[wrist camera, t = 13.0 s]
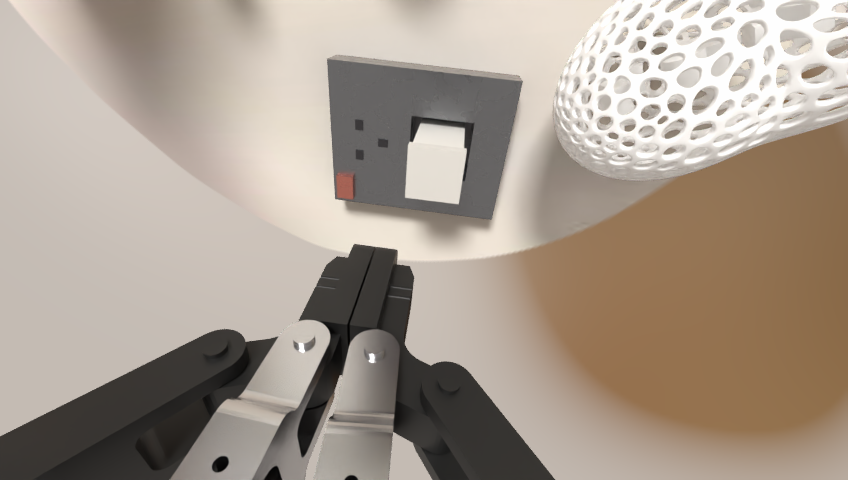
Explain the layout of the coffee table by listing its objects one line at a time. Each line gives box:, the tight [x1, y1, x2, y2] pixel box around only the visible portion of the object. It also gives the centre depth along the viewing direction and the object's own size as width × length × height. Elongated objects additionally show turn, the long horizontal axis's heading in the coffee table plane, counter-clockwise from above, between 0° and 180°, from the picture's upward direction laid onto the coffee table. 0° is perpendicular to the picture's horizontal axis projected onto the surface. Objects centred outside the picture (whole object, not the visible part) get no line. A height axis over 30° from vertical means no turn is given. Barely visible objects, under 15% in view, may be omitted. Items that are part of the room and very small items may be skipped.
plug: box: [405, 118, 467, 204], centre depth 32 cm, size 4×4×8 cm
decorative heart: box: [553, 0, 848, 181], centre depth 22 cm, size 18×11×17 cm, turn 118°
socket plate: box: [327, 55, 523, 219], centre depth 34 cm, size 16×13×3 cm
